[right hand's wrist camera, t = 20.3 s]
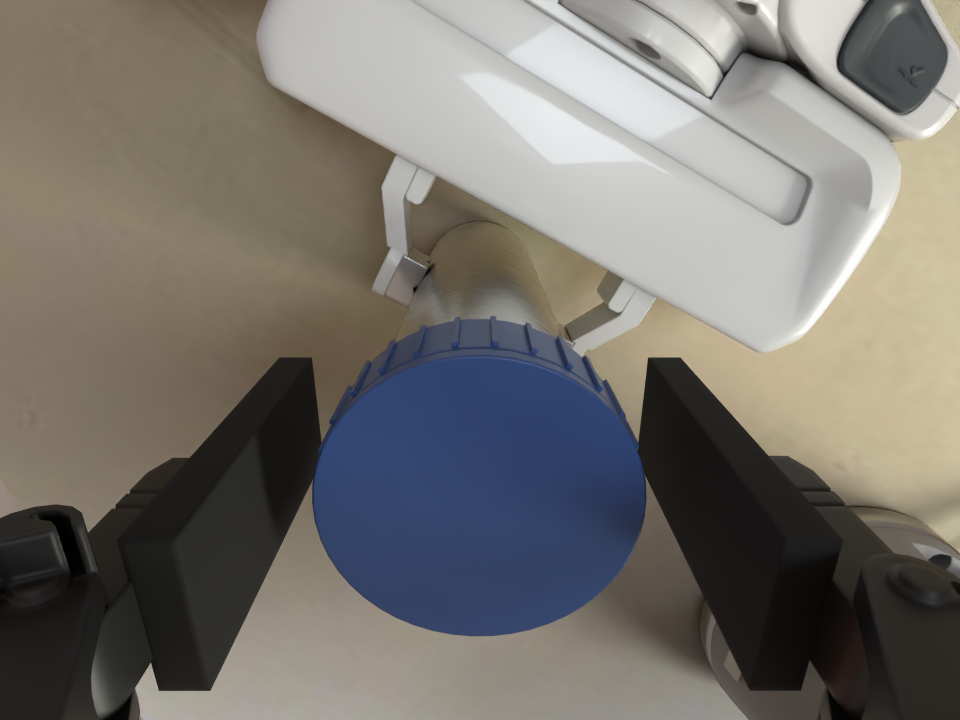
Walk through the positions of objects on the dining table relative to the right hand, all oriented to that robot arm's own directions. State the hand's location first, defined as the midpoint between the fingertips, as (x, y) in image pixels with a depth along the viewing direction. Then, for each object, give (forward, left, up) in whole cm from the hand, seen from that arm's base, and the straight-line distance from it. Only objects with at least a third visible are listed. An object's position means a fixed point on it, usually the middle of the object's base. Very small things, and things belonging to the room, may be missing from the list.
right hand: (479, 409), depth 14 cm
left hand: (+1, +1, -8) cm, 8 cm away
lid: (0, 0, +4) cm, 4 cm away
